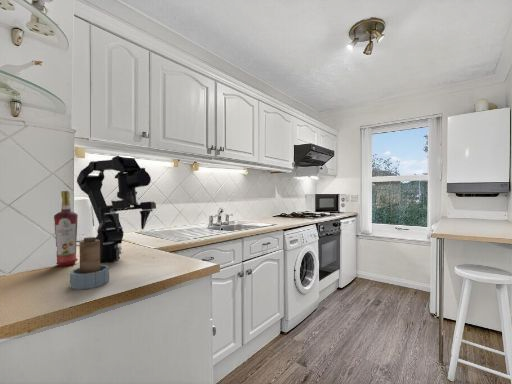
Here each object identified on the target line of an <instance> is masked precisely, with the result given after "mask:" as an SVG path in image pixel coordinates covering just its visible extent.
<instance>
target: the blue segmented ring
mask: <svg viewBox="0 0 512 384" xmlns="http://www.w3.org/2000/svg"><path fill="white" fill-rule="evenodd" d="M109 281H110V266H109V265H106V264H100V271H98V272H93V273H87V274H80V267H77V268H74V269H72V270H70V272H69V286H70V287H69V288H70V289H71V290H76V291H77V290H78V291H81V290H90V289H94V288H95V289H96V288H99V287H102V286H104V285H106V284H108V283H109Z"/></svg>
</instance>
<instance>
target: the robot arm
mask: <svg viewBox="0 0 512 384" xmlns="http://www.w3.org/2000/svg"><path fill="white" fill-rule="evenodd" d="M95 171H96V172H99V173H98V174H97V173H93V172H95ZM105 171H115V172H117V174H115V175H114V179H116V180H117V182H118V183H117V186H118V191H117V192H116V197H114V198H113V199H112V200H110V201H111V204H110V205H108V204H107V202H106V200H105V198H104V195H103V192H102V187H103V181H104V179H105V174H104V172H105ZM151 180H152V179H151V175H150V174H149V173H148V171H146V167H140V165H139V163H138V162H137V160H136V159H135V157H133V156H125V155H115V156H113V157H111V159H106V160H91V161H90V162H89V163H88V165H87V166H85V168H83V169H81V170H80V172H79V174H78V176H77V178H76V183H77V184H78V187H79V189H80V190H81V191H82V192H83V193H85V194H86V195H87V196H88V199H89V202H90V204H91V206H92V209H93V211H94V214H95V216H96V219H97V221H98V222H97V223H98V227H97V229H96V232H97V235H96V236H95V237H96V240H100V263H113V262H115V261H117V260H119V259H120V258H121V257H120V252H119V248H118V244H120V245H121V244H122V243H123V239H124V235H125V234H124V233H125V232H124V230H123V227H122V224H121V222H120V214H119V213H120V212H121V211H130V210H132V211H133V210H139V214H140V226H141V227H140V228H141V230H144V229H145V227H146V224H147V221H148V218H149V217H150V213H151V212H153V211H154V210H155V209H157V204H156V202H155V201H143V202H140V203H139V202H138V201H137V195H138V191H136V188H143V187H147V186H149V185H150V184H151V182H152V181H151ZM119 211H120V212H119Z"/></svg>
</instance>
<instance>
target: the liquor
mask: <svg viewBox="0 0 512 384" xmlns="http://www.w3.org/2000/svg"><path fill="white" fill-rule="evenodd" d="M70 199H71V190H62V191H61V200H62V201H61V210H60V212H57V213H56V214H54V215H53V220H54V222H55V223H54V234H55V235H56V236H55V246H56V247H57V251H56V261H57V263H55V264H56V265H57V266H59V267H68V266H72V265H74V264H75V263H76V262H77V261H78V258H77V238H78V237H77V236H78V235H77V234H78V220H79V219H78V216H79V215H78V213H76V212H74V211H72V210H71V209H72V208H71V200H70ZM56 247H55V248H56Z"/></svg>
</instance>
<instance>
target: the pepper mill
mask: <svg viewBox="0 0 512 384" xmlns="http://www.w3.org/2000/svg"><path fill="white" fill-rule="evenodd" d="M78 243H79V268H80V274H87V273H93V272H98V271H100V265H101V262H100V240H96V236H89V237H84V238H83V240H80V241H79V242H78Z"/></svg>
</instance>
